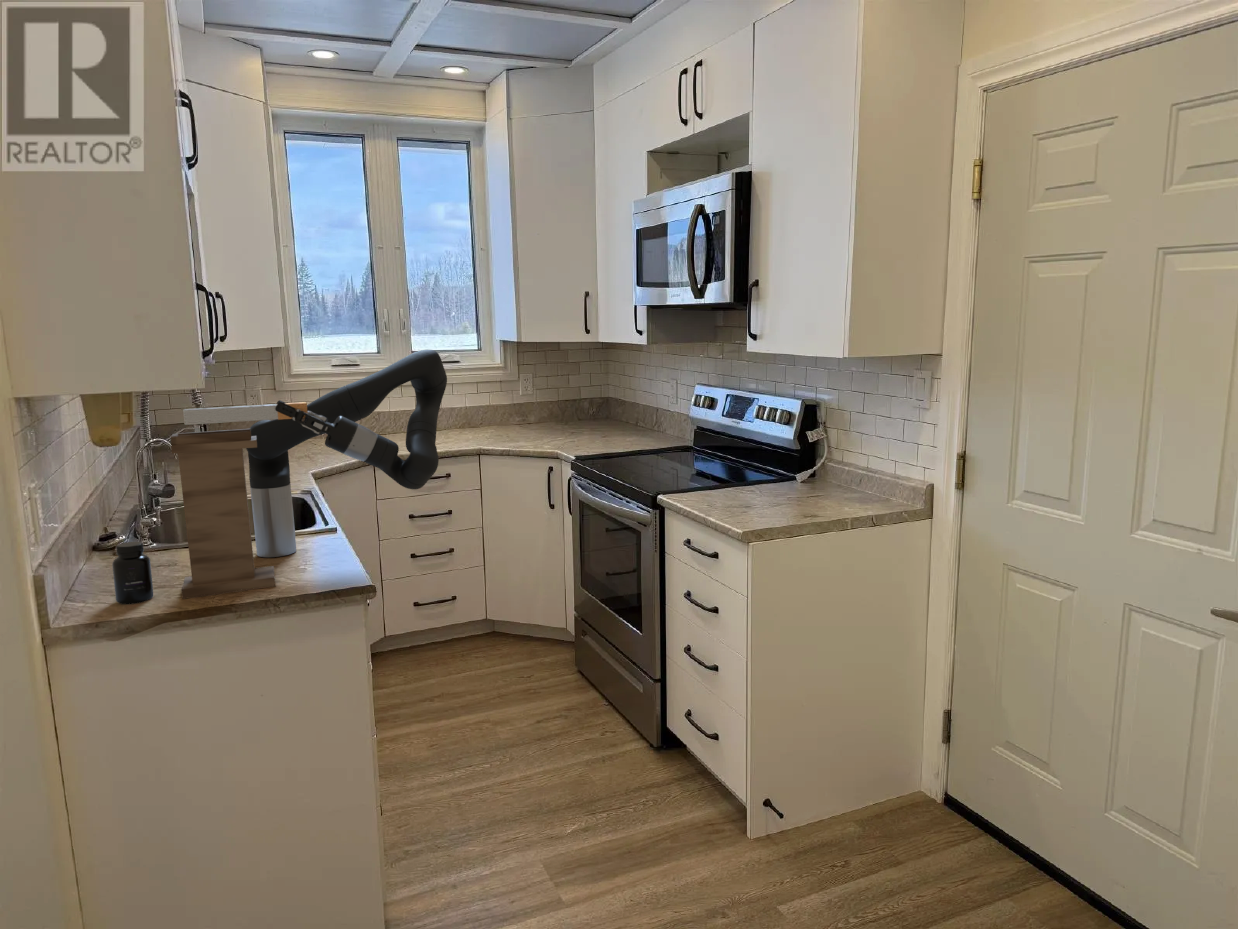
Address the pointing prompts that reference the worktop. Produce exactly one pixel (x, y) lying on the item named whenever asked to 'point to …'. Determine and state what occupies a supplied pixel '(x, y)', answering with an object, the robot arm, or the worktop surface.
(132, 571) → the supplement bottle
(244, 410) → the grey and tan bar
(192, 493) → the post
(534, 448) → the worktop surface
